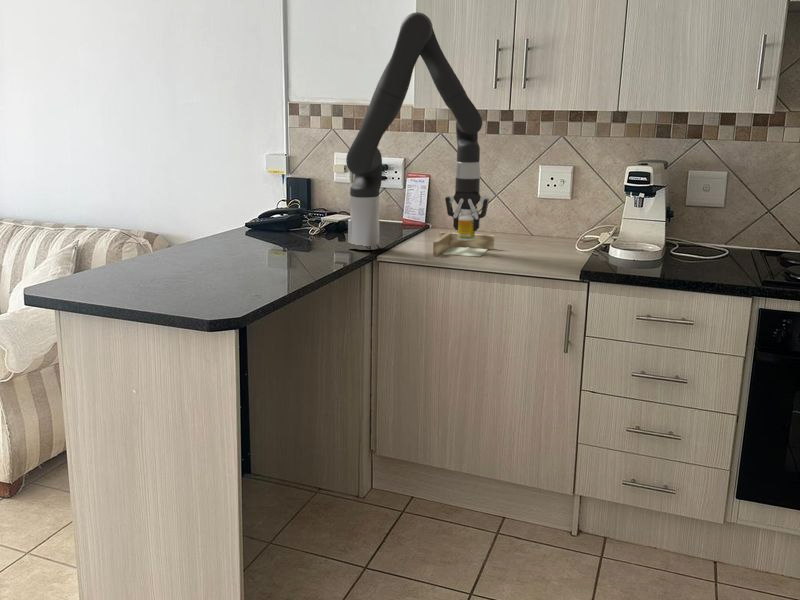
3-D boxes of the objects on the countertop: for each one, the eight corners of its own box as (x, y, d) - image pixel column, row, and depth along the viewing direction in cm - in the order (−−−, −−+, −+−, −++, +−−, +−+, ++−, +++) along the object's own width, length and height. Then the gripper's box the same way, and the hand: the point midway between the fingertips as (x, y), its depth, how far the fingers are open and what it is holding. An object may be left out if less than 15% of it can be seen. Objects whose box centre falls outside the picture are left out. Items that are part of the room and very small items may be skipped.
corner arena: (426, 255, 248) (426, 241, 247) (440, 245, 264) (440, 231, 263) (482, 259, 243) (483, 245, 242) (493, 248, 259) (494, 235, 257)
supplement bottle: (473, 241, 249) (474, 210, 246) (456, 240, 250) (457, 209, 247) (475, 238, 254) (476, 207, 251) (458, 237, 255) (459, 207, 252)
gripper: (442, 176, 245) (441, 230, 250) (487, 178, 241) (486, 233, 245) (448, 174, 252) (447, 227, 257) (492, 176, 248) (491, 229, 252)
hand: (466, 229), depth 251 cm, fingers closed on supplement bottle, 5 cm apart
